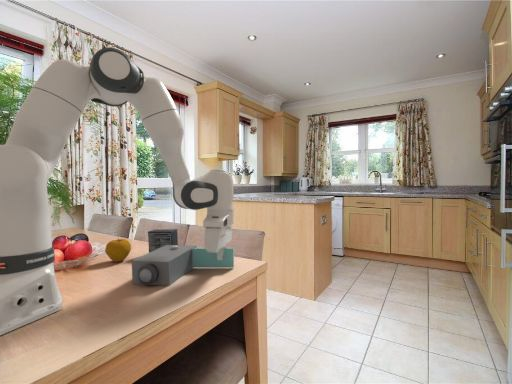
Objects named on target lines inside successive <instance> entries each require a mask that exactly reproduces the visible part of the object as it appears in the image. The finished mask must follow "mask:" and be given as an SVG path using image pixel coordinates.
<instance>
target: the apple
mask: <svg viewBox="0 0 512 384" xmlns="http://www.w3.org/2000/svg"><path fill="white" fill-rule="evenodd" d="M131 250H132V245H131V243H130V241H129V240H128V239H126V238H118V239H113V240H110V241H109V242H107V244H106V246H105V249H104V251H105V253H106V255H107V257H108V258H109V259H110V260H111V261H112V262H115V263H117V262H118V263H119V262H123V261H125V259H127V257H128V256H129V254H130V252H131Z"/></svg>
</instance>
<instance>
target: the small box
mask: <svg viewBox="0 0 512 384" xmlns="http://www.w3.org/2000/svg"><path fill="white" fill-rule="evenodd" d="M147 236H148V238H147V239H148V253H150V252H152V251H154V250H156V249H158V248H161V247H163V246H165V245H179V241H178V239H179V238H178V237H179V236H178V229H177V228H171V229H170V228H168V229H167V228H166V229H165V228H164V229H163V228H162V229H161V228H160V229H151V230H149V231H147Z"/></svg>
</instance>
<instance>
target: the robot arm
mask: <svg viewBox="0 0 512 384" xmlns="http://www.w3.org/2000/svg"><path fill="white" fill-rule="evenodd" d="M144 74H145V73H144V72H143V70H142V68H140V67H139V66H138V65H136V63H135V62H134V61H133V59H131V58H130V56H129V55H128V54H126V53H125V52H123V51H122V50H120V49H117V48H115V47H103V48H101V49H98V50H97V51H96V52H95V53H94V54H93V56H91V59H90V63H89V66H83V65H80V64H78V63H77V62H74V61H73V60H68V59H63V58H62V59H56V60H55V61H54V62H52V63H50V65H49V66H48V67H47V68H46V69H45V70H44V71H43V72H42V74H41V75H40V76H39V78H38V79H37V80H36V81H35V83H34V84H33V86H32V87H31V89H30V90H29V91H30V92H29V93H28V95H27V96H26V98H25V100H24V101H23V102H22V104H21V106H20V107H19V110H18V112H17V113H16V115H15V116H14V121H13V124H12V126H11V130H10V133H9V135H8V137H7V139H6V142H5V144H0V336H2V335H5V334H7V333H10V332H11V331H14V330H16V329H19V328H21V327H23V326H26V325H28V324H30V323H33V322H35V321H37V320H39V319H42V318H45V317H47V316H49V315H51V314H53V313H55V312H58V311H60V310H62V302H63V301H64V299H63V297H62V294H61V292H60V288H59V285H58V282H57V277H56V274H55V273H56V272H55V267H54V262H55V261H56V260H55V259H56V257H55V248H54V246H53V243H52V242H53V240H52V222H51V210H50V204H49V194H48V186H47V185H48V182H49V180H50V178H51V176H52V174H53V172H54V170H55V168H56V166H57V164H58V161H59V159H60V158H61V155H62V153H63V151H64V149H65V147H66V145H67V142H68V141H69V138H70V136H71V134H72V133H73V131H74V129H75V127H76V126H77V123H78V122H79V119H80V118H81V116H82V114H83V113H84V111H85V110H86V109H85V108H86V106H87V105H88V103H89V102H90V101H91V102H93V103H96V104H97V103H98V104H101V105H106V106H109V107H114V108H115V107H116V108H117V107H121V106H124V105H125V104H127V103H129V104H131V105H132V106H133V108H135V110H136V111H137V113H138V116H139V118H140V121H141V123H142V125H143V127H144V129H145V131H146V132H147V135H148V136H149V138H150V140H151V142H152V143H153V144H154V146H155V148H156V149H157V151H158V152H159V154H160V156H161V158H162V160H163V162H164V164H165V168H166V170H167V172H168V175H169V177H170V179H171V180H170V181H171V182H172V198H173V201H174V203H175V204H176V205H177V206H178V207H180V208H181V209H185V210H192V211H198V210H202V209H207V210H206V216H205V217H204V220H203V221H202V227H203V228H205V229H204V248H206V251H207V252H210V253H217V260H222V259H223V257H224V250H225V248H226V246H227V245H228V244H229V243H230V242H231V241H232V240H233V224H234V220H235V219H234V216H235V215H234V209H235V208H234V205H233V201H234V197H235V195H234V179H233V176H232V175H231V174H230V173H229V172H228V171H225V170H220V169H219V170H218V169H210V170H209V171H208V172H206V173H205V174H203V175H200V176H199V177H196V178H192V177H191V175H190V173H189V169H188V168H187V164H186V162H185V160H184V157H183V154H182V153H183V152H182V145H183V144H182V142H183V137H184V134H185V130H184V125H183V121H182V117H181V115H180V113H179V110H178V107H177V105H176V103H175V101H174V99H173V98H172V96H171V94H170V92H169V91H168V89H167V88H166V86H165V84H164V83H163V81H161V80H160V79H158V78H156V77H150V76H149V77H145V75H144Z"/></svg>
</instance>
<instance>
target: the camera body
mask: <svg viewBox="0 0 512 384" xmlns="http://www.w3.org/2000/svg"><path fill="white" fill-rule="evenodd" d="M192 248H198V247H197V245H182V244H178V245H165V246H163V247H161V248H158V249H156V250H154V251H152V252H150V253H149V252H148V253H144V254H142V255H141V256H139V257H136V258H135V259H132V260H131V276H132V277H131V278H132V280H131V281H132V284H133V285H145V286H150V285H152V286H168V287H169V286H171V285H173V284H174V283H175V282H176V281H178V280H179V279H180V278H182V277H183V276H184V275H186V274H187V273H188V272H190V271H191V270H192V269H194V268H193V261H192Z"/></svg>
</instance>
